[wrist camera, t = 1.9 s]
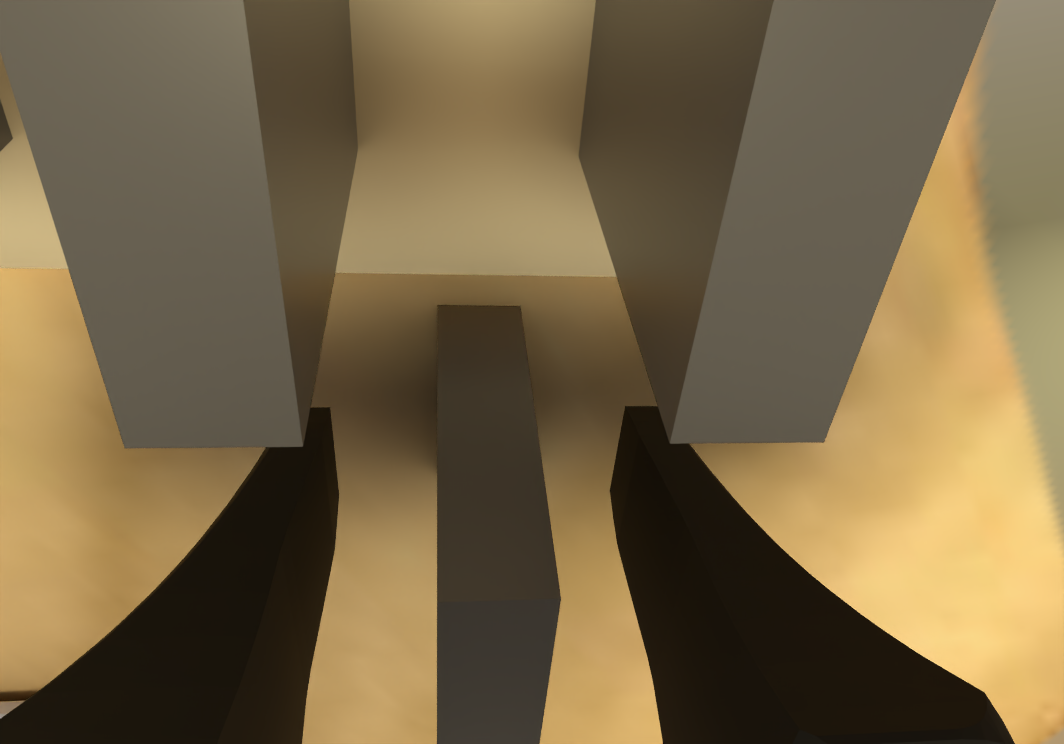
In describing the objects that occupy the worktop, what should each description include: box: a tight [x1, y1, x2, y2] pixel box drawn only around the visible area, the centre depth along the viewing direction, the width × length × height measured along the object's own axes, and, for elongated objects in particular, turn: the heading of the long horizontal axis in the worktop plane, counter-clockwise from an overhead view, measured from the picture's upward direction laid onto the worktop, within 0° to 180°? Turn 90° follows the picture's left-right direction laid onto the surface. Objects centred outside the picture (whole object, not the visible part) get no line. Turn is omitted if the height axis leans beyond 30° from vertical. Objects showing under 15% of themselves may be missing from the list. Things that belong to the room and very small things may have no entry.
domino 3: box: [578, 0, 996, 444], centre depth 8 cm, size 4×1×6 cm, turn 176°
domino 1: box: [0, 0, 358, 448], centre depth 8 cm, size 4×1×6 cm, turn 176°
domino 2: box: [437, 305, 561, 744], centre depth 13 cm, size 4×1×6 cm, turn 176°
